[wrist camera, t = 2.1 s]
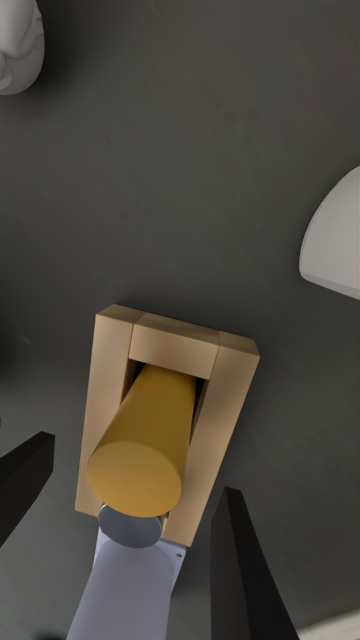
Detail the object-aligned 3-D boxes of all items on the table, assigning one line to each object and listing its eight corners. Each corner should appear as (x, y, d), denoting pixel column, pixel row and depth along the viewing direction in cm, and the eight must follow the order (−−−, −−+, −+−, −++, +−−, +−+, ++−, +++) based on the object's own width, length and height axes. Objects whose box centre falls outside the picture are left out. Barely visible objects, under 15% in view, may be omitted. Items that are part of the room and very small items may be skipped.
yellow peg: (189, 412, 17) (170, 529, 10) (136, 397, 17) (82, 501, 10) (202, 364, 16) (193, 459, 9) (145, 348, 16) (90, 429, 9)
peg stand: (253, 338, 15) (260, 356, 12) (193, 511, 20) (190, 547, 18) (113, 303, 15) (95, 313, 13) (90, 479, 21) (74, 510, 18)
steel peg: (169, 481, 19) (155, 556, 15) (123, 466, 20) (93, 536, 15) (180, 443, 18) (168, 513, 13) (130, 429, 18) (100, 492, 14)
